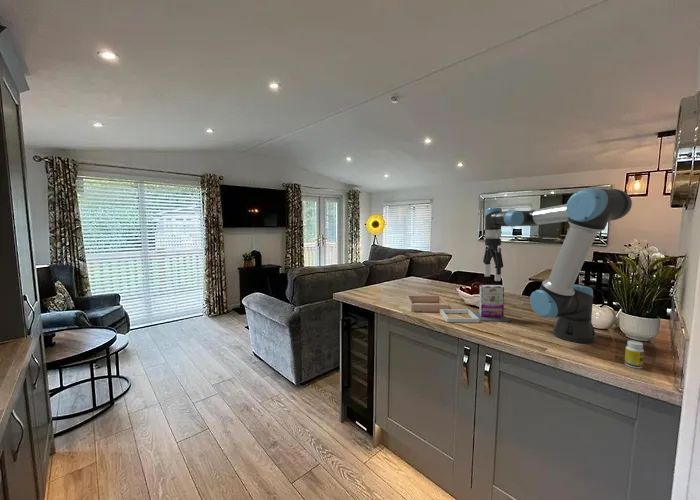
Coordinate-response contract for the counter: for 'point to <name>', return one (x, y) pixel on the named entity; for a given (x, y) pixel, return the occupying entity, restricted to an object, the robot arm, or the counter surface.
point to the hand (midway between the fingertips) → (492, 278)
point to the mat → (491, 318)
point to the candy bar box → (491, 301)
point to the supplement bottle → (634, 354)
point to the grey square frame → (463, 311)
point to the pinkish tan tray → (427, 307)
